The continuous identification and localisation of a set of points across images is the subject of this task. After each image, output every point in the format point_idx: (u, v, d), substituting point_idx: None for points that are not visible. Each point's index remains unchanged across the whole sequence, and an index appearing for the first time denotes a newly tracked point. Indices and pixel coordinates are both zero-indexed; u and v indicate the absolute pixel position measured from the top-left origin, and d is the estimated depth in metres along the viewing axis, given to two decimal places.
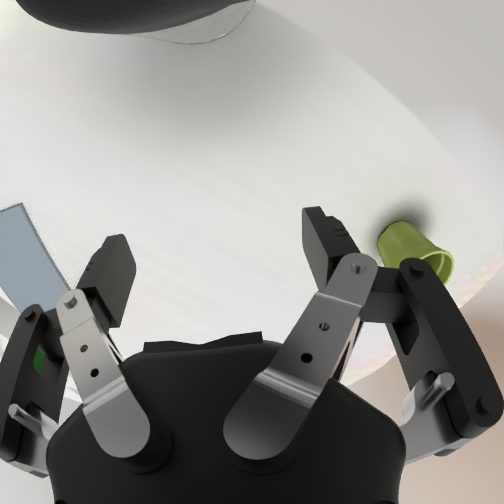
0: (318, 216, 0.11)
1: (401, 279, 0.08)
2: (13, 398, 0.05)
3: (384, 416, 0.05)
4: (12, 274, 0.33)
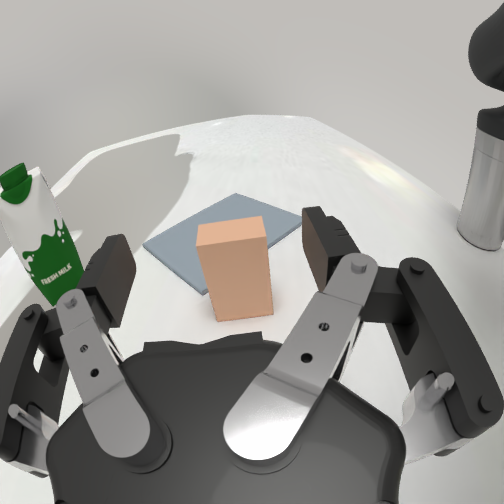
0: (318, 216, 0.11)
1: (401, 279, 0.08)
2: (13, 398, 0.05)
3: (384, 416, 0.05)
4: None
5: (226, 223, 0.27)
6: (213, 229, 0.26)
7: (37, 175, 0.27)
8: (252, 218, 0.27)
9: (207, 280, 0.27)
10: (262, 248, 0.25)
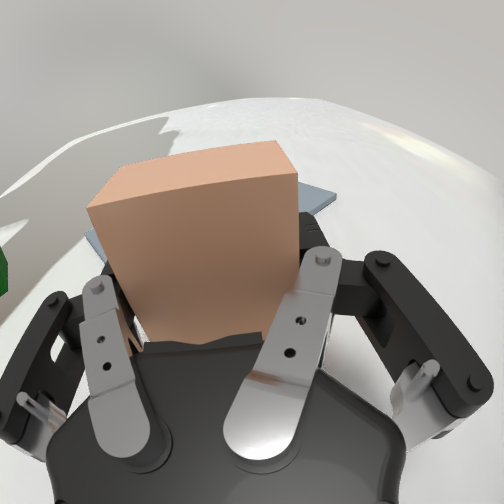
0: None
1: (368, 274, 0.08)
2: (23, 385, 0.06)
3: (384, 416, 0.05)
4: None
5: (184, 156, 0.10)
6: (148, 169, 0.09)
7: None
8: (253, 144, 0.10)
9: (134, 304, 0.10)
10: (283, 214, 0.08)
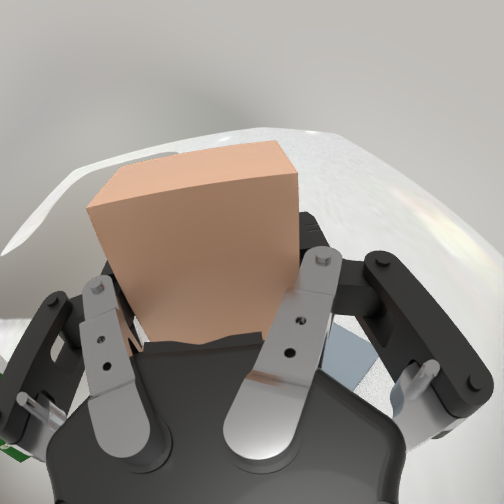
0: None
1: (368, 274, 0.08)
2: (23, 385, 0.06)
3: (384, 416, 0.05)
4: None
5: (184, 156, 0.10)
6: (148, 169, 0.09)
7: None
8: (253, 144, 0.10)
9: (134, 304, 0.10)
10: (283, 214, 0.08)
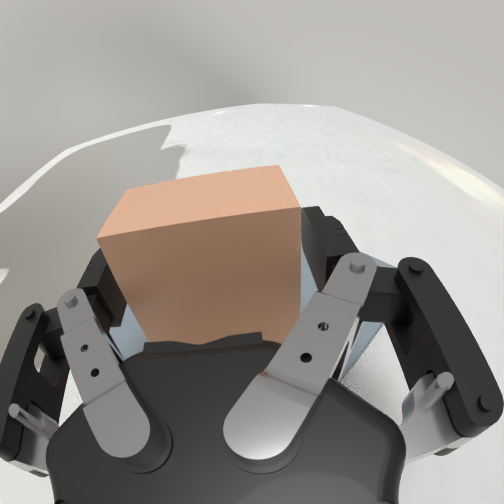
0: (317, 216, 0.11)
1: (400, 279, 0.08)
2: (13, 398, 0.05)
3: (384, 416, 0.05)
4: None
5: (189, 182, 0.10)
6: (154, 195, 0.10)
7: None
8: (256, 169, 0.10)
9: (144, 324, 0.10)
10: (286, 244, 0.08)
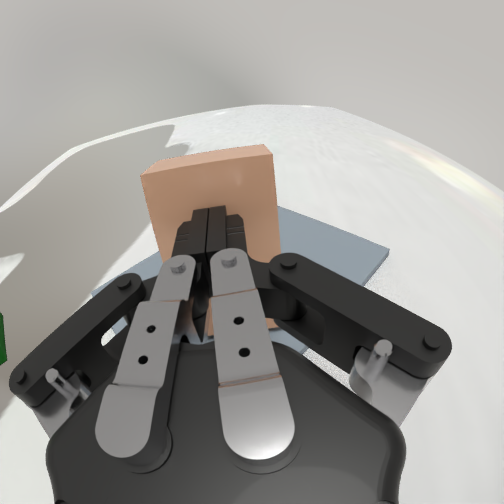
0: (218, 214, 0.12)
1: (278, 281, 0.08)
2: (59, 363, 0.06)
3: (384, 416, 0.05)
4: None
5: (202, 153, 0.15)
6: (178, 159, 0.14)
7: None
8: (248, 146, 0.15)
9: (163, 250, 0.14)
10: (265, 180, 0.13)
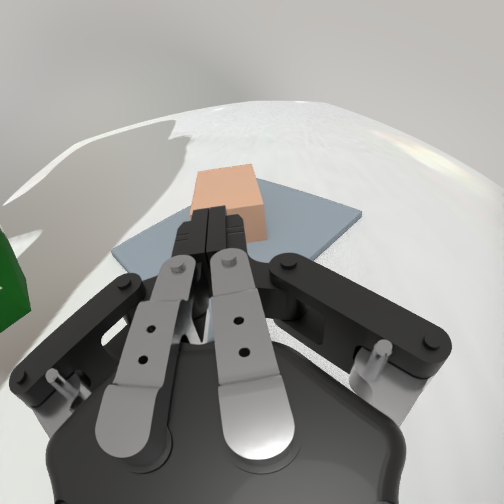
0: (218, 214, 0.12)
1: (279, 281, 0.08)
2: (59, 363, 0.06)
3: (384, 416, 0.05)
4: None
5: None
6: None
7: None
8: None
9: (197, 185, 0.28)
10: (248, 167, 0.30)
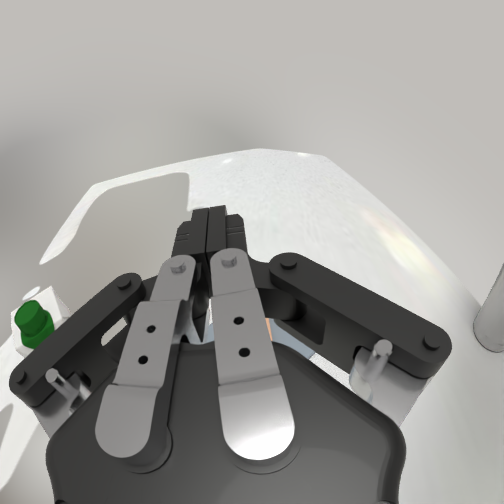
0: (218, 214, 0.12)
1: (279, 281, 0.08)
2: (58, 363, 0.06)
3: (384, 416, 0.05)
4: None
5: None
6: None
7: (59, 320, 0.26)
8: None
9: None
10: None
